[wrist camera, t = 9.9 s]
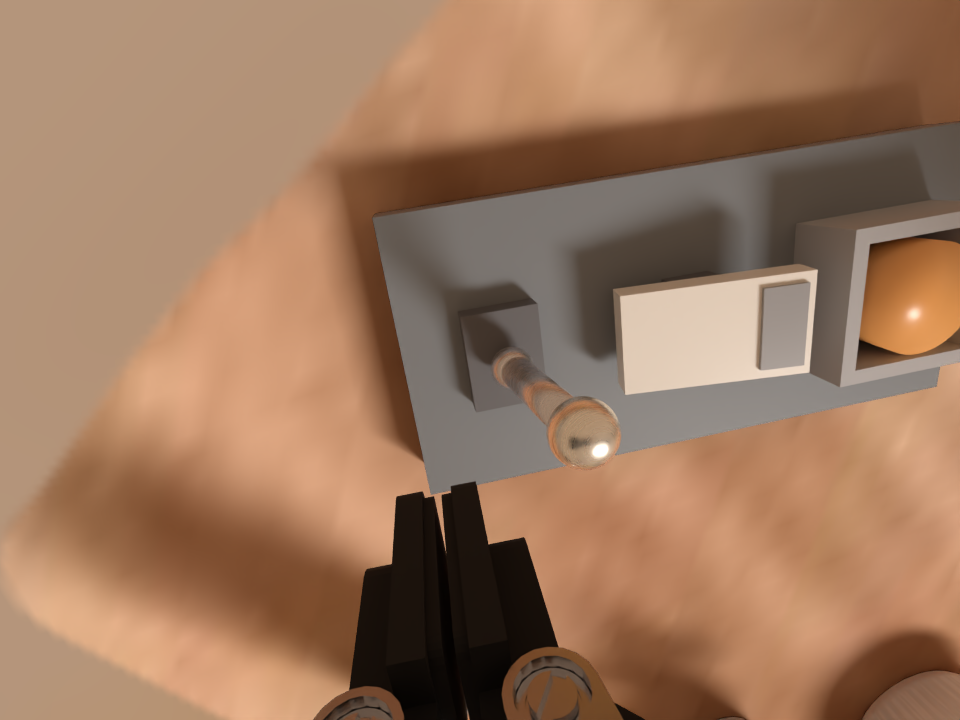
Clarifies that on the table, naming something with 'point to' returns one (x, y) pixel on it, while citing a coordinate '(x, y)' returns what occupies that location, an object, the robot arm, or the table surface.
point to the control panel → (647, 260)
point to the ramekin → (919, 698)
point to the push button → (911, 294)
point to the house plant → (732, 718)
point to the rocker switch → (715, 328)
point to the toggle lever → (560, 412)
